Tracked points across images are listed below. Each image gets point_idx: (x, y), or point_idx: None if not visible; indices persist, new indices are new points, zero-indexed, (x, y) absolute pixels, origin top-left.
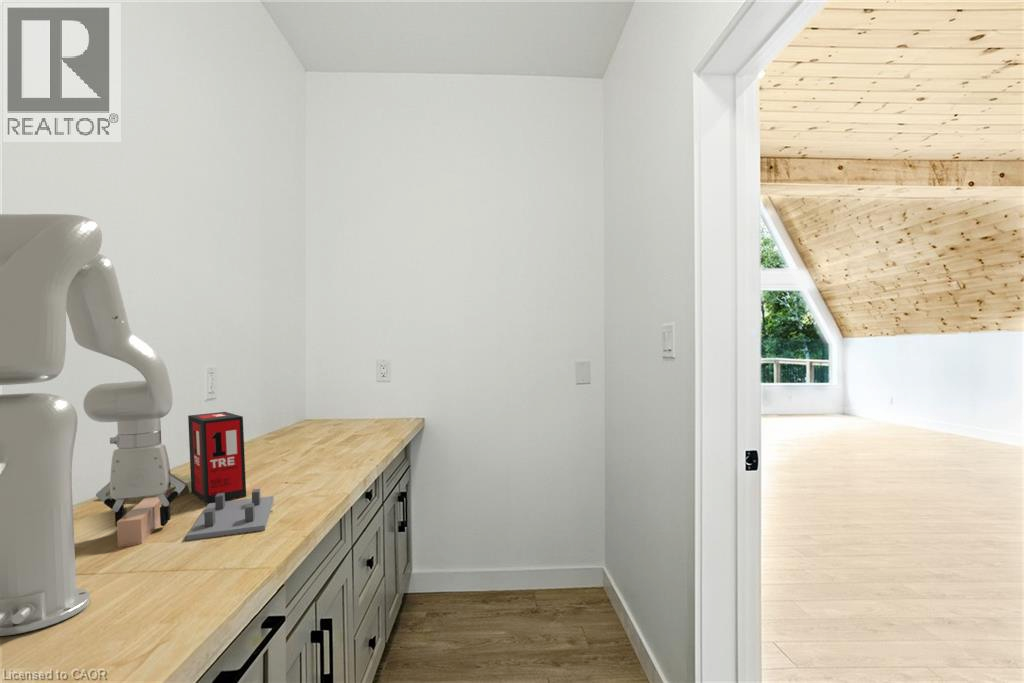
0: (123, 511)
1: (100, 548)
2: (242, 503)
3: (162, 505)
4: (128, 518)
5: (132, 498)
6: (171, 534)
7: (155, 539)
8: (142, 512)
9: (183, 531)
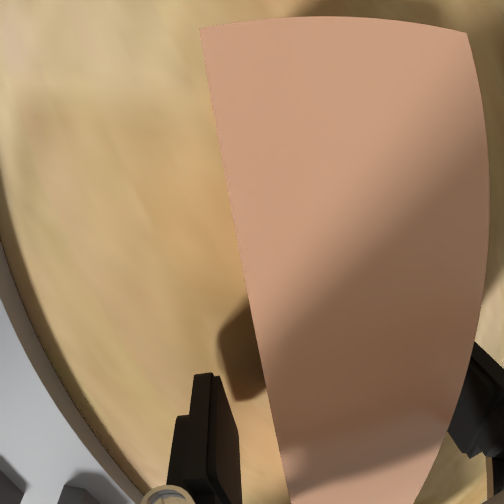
0: (479, 416)
1: None
2: (49, 501)
3: (209, 500)
4: (414, 135)
5: (493, 496)
6: (101, 259)
7: (157, 169)
8: (334, 379)
9: (63, 300)
